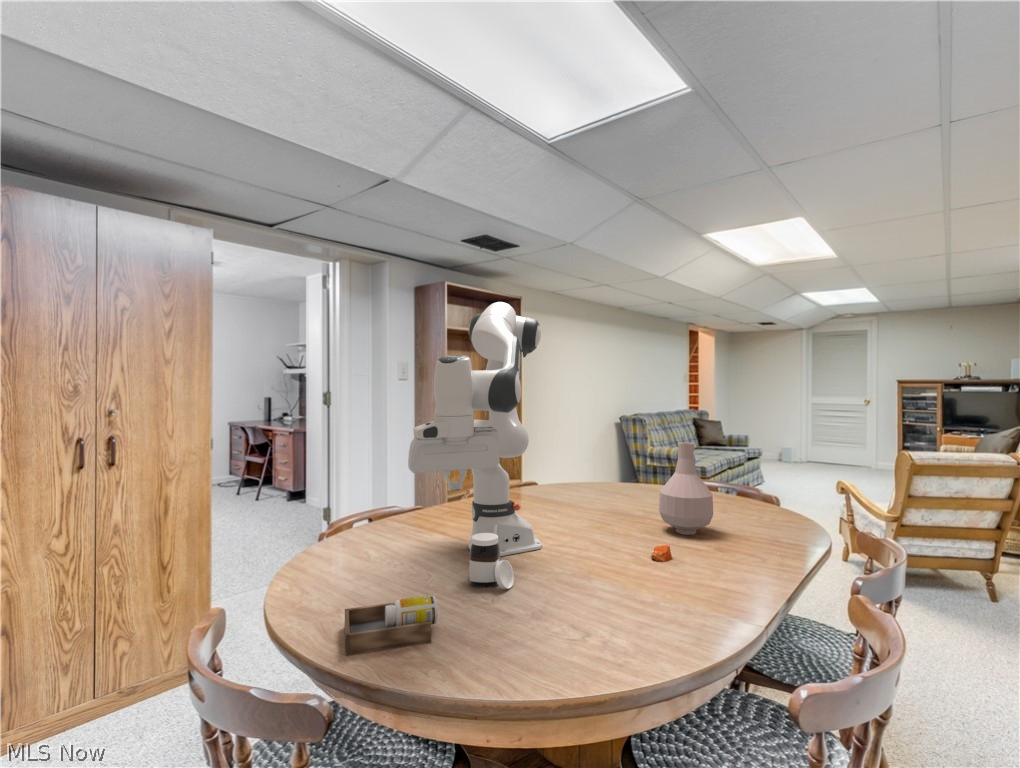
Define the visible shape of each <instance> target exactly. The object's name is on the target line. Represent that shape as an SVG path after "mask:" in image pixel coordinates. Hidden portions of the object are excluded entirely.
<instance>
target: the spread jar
mask: <svg viewBox="0 0 1020 768" xmlns="http://www.w3.org/2000/svg"><path fill="white" fill-rule="evenodd" d="M469 582H470V584H471V585H472V586H474V587H477V588H492V587H495V586H497V585H498V587H499V588H500V589H501V590H507V589H511V588H512V587H513V586H514V583H515V573H514V569H513V566H512V564H511V562H510V561H509V560H507V559H502V560H501V556H500V548H499V545H498V535H496V534H493V533H478V534H474V535H473V536H472V545H471V548H470V549H469Z"/></svg>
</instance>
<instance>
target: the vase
mask: <svg viewBox="0 0 1020 768" xmlns="http://www.w3.org/2000/svg"><path fill="white" fill-rule="evenodd" d="M677 443H678V444H677V455H678V456H677V461H676V465H675V472H673V474H672V476H671V477H670V478H669V479H668V480H667V481H666V483H665V484H664V486H663V487H662V488H661V489H660V491H659V506H658V512H659V513H660V517H661V519H662V521H664V523H666V524H668V525H670V527H673V528H675V532H676V533H677V534H681V535H687V536H689V535H696V534H697V530H699V529H701V528H704V527H707V526H708V525H710V524H711V521H712V519H713V516H714V501H713V500H714V498H713V492H712V491H711V490H710V488H709V487H708V485H706V483H705V482H704V480H703V479H702V478H701V477H700V475H699V474H698V473H697V468H696V463H695V458H694V453H695V452H694V442H685V441H684V442H677Z"/></svg>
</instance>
